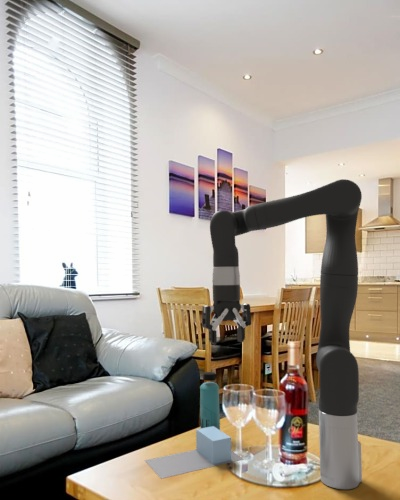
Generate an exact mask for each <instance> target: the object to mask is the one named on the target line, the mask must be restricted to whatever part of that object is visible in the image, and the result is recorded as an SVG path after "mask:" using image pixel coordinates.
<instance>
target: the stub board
mask: <svg viewBox="0 0 400 500" xmlns="http://www.w3.org/2000/svg"><path fill="white" fill-rule="evenodd" d="M243 460H244V458H242V457H241V456H240V455H238V454H237V453H236V452H234V451H233V450H231V460H230V461H226V462H221V463H217V464H212V463H211V462H210V461H208V460H207V459H206V458H205V457H203V456H202V455H201V454H200V453H198V452H197V451H196V449H192V450H187V451H182V452H178V453H173V454H169V455H163V456H159V457H154V458H149V459H145V460H144V462H145V463H146V464H147V465H148V466H149V467H150V468H151V469H152V470H153V471H154V473H155V474H156V475H157V476H158V477H159V478H160V479H161V480H162V479H166V478H167V479H168V478H170V477H175V476H179V475H184V474H189V473H191V472H196V471H199V470H200V471H201V470H203V469H204V470H205V469H208V468H212V467H218V466H221V465H226V464H229V463H234V462H239V461H243Z"/></svg>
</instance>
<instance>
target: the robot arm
mask: <svg viewBox="0 0 400 500" xmlns="http://www.w3.org/2000/svg"><path fill="white" fill-rule="evenodd" d="M362 195H363V194H362V191H361V188H360V186H359V185H358V184H357V183H355V182H354V181H352V180H350V179H337V180H335V181H333V182H330V183H328V184H325V185H322V186H320V187H317V188H315V189H312V190H309V191H306V192H303V193H299V194H296V195H291V196H288V197H283V198H278V199H275V200H270V201H265V202H260V203H257V204H256V203H255V204H252V205H249V206H247V207H245V209H240V210H236V211H232V212H230V211H228V210H224V209H222V210H221V209H220V210H217V211H216V212H214V214H212V216H211V219H210V223H209V231H210V240H211V245H212V246H211V247H212V250H213V251H212V252H213V254H212V256H213V257H212V264H213V265H212V266H213V269H212V282H211V283H212V302H213V303H212V305H203V306H202V310H201V312H202V316H201V317H202V318H201V319H202V320H201V327H202V328H203V329H207V330H208V342H209V343H210V344H211V345H217V343H218V342H217V341H218V340H217V338H218V336H217V328H218V326H219V325H221V323H222V322H226V321H233V322H234V323H235V324H236V326H237V328H236V330H237V331H236V332H237V333H236V335H237V336H236V337H237V338H236V340H237V343H238V342H239V343H244V342H245V338H246V327H248V326H251V325H252V316H251V315H252V313H251V304H249V303H242V304H241V303H240V302H241V275H240V274H241V273H240V267H239V266H240V265H239V261H240V260H239V249H238V247H237V246H236V245H237V244H236V237H237V236H241V235H243V234H247V233H250V232H253V231H261V230H265V229H270V228H274V227H278V226H279V227H280V226H282V225H286V224H288V223H292V222H295V221H297V220H300V219H304V218H308V217H312V216H320V215H325V224H326V225H325V227H326V229H325V230H326V235H325V237H326V238H325V243H324V249H323V252H322V259H321V268H320V277H319V278H320V279H319V280H320V281H319V283H320V284H319V308H320V332H319V338H318V339H319V340H318V346H317V352H316V357H315V361H316V364H315V365H316V368H317V370H318V372H319V397H318V435H319V436H318V438H319V439H318V440H319V473H320V476H319V477H320V481H321V482H322V484H324V485H325V486H327V487H330V488H333V489H338V490H352V489H355V488H358V486H359V485H360V483H362V482H363V470H362V469H363V467H362V466H363V465H362V463H363V462H362V443H361V441H359V436H358V435H359V431H358V403H359V394H360V393H359V392H360V391H359V389H360V388H359V387H360V385H359V384H360V381H359V380H360V379H359V378H360V376H359V375H360V373H359V364H358V360H357V358H356V357H355V355H354V354H353V353H352V352H351V345H350V341H351V340H350V328H351V327H350V325H351V321H352V317H353V313H354V310H355V306H356V302H357V298H358V290H359V289H358V286H359V284H358V283H359V263H358V262H359V261H358V260H359V259H358V251H357V250H358V249H357V244H356V232H357V231H356V230H357V222H358V215H359V211H360V210H359V209H360V206H361V202H362V198H363V197H362ZM240 311H241V315H242V316H241V315H240ZM212 313H214V315H213V316H212V317H211V315H212Z"/></svg>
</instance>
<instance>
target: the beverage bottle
mask: <svg viewBox="0 0 400 500" xmlns="http://www.w3.org/2000/svg"><path fill="white" fill-rule="evenodd" d="M202 376H203V377H202V380H203V381H205V382H203V383H202V384H201V385H200V386H199V389H200V390H199V393H200V395H199V396H200V397H199V406H200V407H199V408H200V409H199V410H200V411H199V413H200V416H199V417H200V418H199V426H200V429H201V428H206V427H212V426H214V427H216V428H217V429H219V430H220V431H221V417H220V416H221V415H220V386H219V385H218V384H217V382H213V381H216V380H217V377H216V373H215V372H213V371H206V372H203V375H202Z"/></svg>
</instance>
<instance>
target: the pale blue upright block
mask: <svg viewBox="0 0 400 500" xmlns="http://www.w3.org/2000/svg"><path fill="white" fill-rule="evenodd" d="M195 433H196V436H195V437H196V439H195V440H196V442H195V443H196V445H195V446H196V447H195V448H196V449H195V450H196V451H197V452H198V453H200V454H201V455H202V456H203V457H205V458H206V459H207V460H208V461H210V462H211V463H212V464H217V463H221V462H226V461H230V460H231V451H232V437H231V436H229V435H228V434H227V433H225V432H224V431H222V430H221V429H220V430H219V429H217V428H216V427H214V426H212V427H206V428H201V427H200V428H196V429H195Z"/></svg>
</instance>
